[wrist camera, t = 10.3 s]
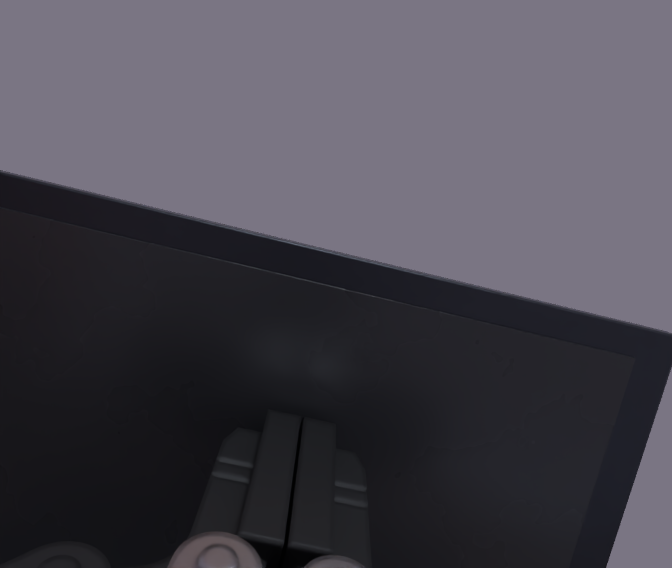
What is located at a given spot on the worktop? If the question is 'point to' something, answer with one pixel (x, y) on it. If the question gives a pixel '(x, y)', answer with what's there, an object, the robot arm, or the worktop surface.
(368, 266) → the laptop screen
